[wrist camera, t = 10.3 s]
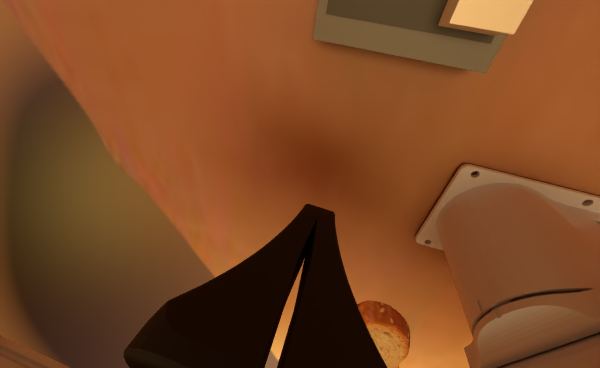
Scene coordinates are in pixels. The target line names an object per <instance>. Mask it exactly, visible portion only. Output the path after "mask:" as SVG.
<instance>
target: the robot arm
mask: <svg viewBox="0 0 600 368" xmlns="http://www.w3.org/2000/svg"><path fill="white" fill-rule="evenodd" d="M474 171H478V172H477V173H476V174H475V175H471V173H472V172H474ZM585 200H588V201H586V202H584V201H585ZM415 240H416V242H417V243H419V244H421V245H425V246H428V247H432V248H435V249H438V250H442V251H444V253H445V256H446V259H447V262H448V265H449V268H450V271H451V274H452V277H453V280H454V283H455V286H456V289H457V292H458V295H459V297H460V300H461V303H462V306H463V309H464V312H465V315H466V318H467V321H468V324H469V327H470V330H471V333H472V336H473V341H472V343H471V344H470V345H468V346H467V347H465V348H464V349H465V353H466V356H467V359H468V363H469V366H470V368H600V196H596V195H592V194H588V193H584V192H580V191H576V190H572V189H568V188H564V187H560V186H556V185H552V184H548V183H544V182H540V181H536V180H532V179H528V178H524V177H520V176H516V175H512V174H508V173H504V172H500V171H496V170H492V169H488V168H484V167H480V166H476V165H472V164H464V165H462V166H460V167H459V169H458V170H457V172H456V173H455V175H454V176H453V178H452V180H451V181H450V183H449V184H448V186H447V187H446V189H445V190H444V192H443V194H442V195H441V197H440V198H439V200H438V201H437V203H436V205H435V206H434V208H433V209H432V211H431V212H430V214H429V216H428V217H427V219H426V220H425V222H424V223H423V225H422V227H421V228H420V230H419V231H418V233H417V234H416V236H415ZM426 240H429V241H426ZM304 258H305V260H304ZM303 261H304V265H303V269H302V274H301V279H300V284H299V289H298V294H297V299H296V303H295V307H294V312H293V315H292V319H291V322H290V325H289V329H288V332H287V336H286V339H285V342H284V346H283V349H282V352H281V356H280V359H279V362H278V366H277V368H388V367H387V366H386V364H385V362H384V360H383V358H382V356H381V354H380V353H379V351H378V349H377V347H376V345H375V343H374V341H373V339H372V337H371V335H370V333H369V330H368V328H367V326H366V324H365V322H364V319H363V317H362V315H361V313H360V311H359V308H358V306H357V304H356V301H355V298H354V296H353V293H352V291H351V288H350V285H349V282H348V279H347V276H346V273H345V270H344V266H343V263H342V259H341V255H340V250H339V246H338V241H337V235H336V228H335V214H334V212H332V211H329V210H326V209H323V208H320V207H316V206H313V205H310V204H306V205H305V206H304V207H303V209H302V210H301V212H300V213H299V214H298V215H297V216H296V217H295V219H294V220H293V221H292V222H291V223H290V224H289V225H288V226H287V227H286V228H285V229H284V230H283V231H282V232H280V233H279V234H278V235H277V236H276V237H275V238H274V239H272V240H271V241H270V242H269V243H268V244H266V245H265V246H264V247H263V248H261V249H260V250H259V251H257V252H256V253H255V254H253V255H252V256H250V257H249V258H247V259H246V260H244V261H243V262H241V263H240V264H238V265H237V266H235V267H233V268H232V269H230V270H228V271H226V272H225V273H223V274H221V275H219V276H217V277H216V278H214V279H212V280H210V281H208V282H207V283H205V284H203V285H201V286H199V287H197V288H194V289H192V290H190V291H188V292H186V293H184V294H182V295H179V296H177V297H175V298H173V299H171V300H169V301H167V302H166V303H165V304H164V305H163V306H162V307H161V308H160V309H159V310H158V311H157V312H156V313H155V314H154V316H153V317H151V318H150V319H149V320H148V322H147V323H146V324H145V325H144V326H143V328H142V329H141V330H140V331H139V333H138V334H137V335H136V337H135V338H134V339H133V340H132V341H131V343H130V344H129V345H128V347H127V348H126V349H125V351H124V358H125V361H126V363H127V364H128V366H129V367H130V368H265V364H266V361H267V358H268V355H269V352H270V349H271V346H272V343H273V340H274V337H275V334H276V331H277V328H278V324H279V321H280V318H281V315H282V312H283V309H284V307H285V304H286V301H287V299H288V296H289V294H290V292H291V289H292V287H293V285H294V282H295V280H296V277H297V275H298V273H299V270H300V268H301V266H302V263H303ZM0 368H70V367H67V366H65V365H63V364H61V363H59V362H57V361H54V360H52V359H50V358H48V357H46V356H44V355H42V354H39V353H37V352H35V351H33V350H31V349H29V348H26V347H24V346H22V345H20V344H18V343H16V342H14V341H11V340H9V339H7V338H5V337H3V336H1V335H0Z"/></svg>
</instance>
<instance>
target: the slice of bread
mask: <svg viewBox="0 0 600 368" xmlns="http://www.w3.org/2000/svg"><path fill="white" fill-rule="evenodd" d="M357 306H358V308H359V311H360V313H361V315H362V317H363V319H364V322H365V324H366V326H367V328H368V330H369V333H370V335H371V337H372V339H373V341H374V343H375V345H376V347H377V349H378V351H379V353H380V354H381V356H382V358H383V360H384V362H385V364H386V366H387V367H388V368H399V364H400V363H401V361H402V360H404V359H405V358H406V357H407V355H408V352H409V347H410V331H409V327H408V324H407V322H406V321H405V319H404V318H403V317H402V316H401V314H400V313H399V312H397V311H396V310H395V309H393V308H392V307H391V306H389V305H387V304H384V303H381V302H376V301H365V302H362V303H360V304H359V305H357Z"/></svg>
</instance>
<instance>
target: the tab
mask: <svg viewBox="0 0 600 368" xmlns="http://www.w3.org/2000/svg"><path fill="white" fill-rule="evenodd" d="M532 2H533V0H448V2H447V4H446V6H445V9H444V11H443V14H442V16H441V19H440V21H439V24H438V26H442V27H448V28H453V29H459V30H465V31H470V32H476V33H482V34H487V35H510V34H514V33H515V31H516V30H517V28H518V26H519V24H520V23H521V21H522V19H523V18H524V16H525V14H526V12H527V11H528V9H529V7H530V5H531V4H532Z"/></svg>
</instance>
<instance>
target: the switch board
mask: <svg viewBox="0 0 600 368" xmlns="http://www.w3.org/2000/svg"><path fill="white" fill-rule="evenodd" d="M447 2H448V0H319V2H318V8H317V14H316V21H315V27H314V33H313V39H315V40H320V41H325V42H330V43H335V44H340V45H345V46H350V47H355V48H360V49H365V50H370V51H375V52H380V53H385V54H391V55H396V56H401V57H406V58H411V59H416V60H421V61H426V62H431V63H436V64H441V65H446V66H451V67H456V68H461V69H466V70H471V71H476V72H481V73H486V72H487V70H488V68H489V67H490V65H491V63H492V61H493V59H494V58H495V56H496V54H497V52H498V51H499V49H500V47H501V45H502V43H503V42H504V40H505V38H506V36H507V35H487V34H482V33H476V32H470V31H465V30H459V29H453V28H448V27H442V26H438V24H439V21H440V19H441V16H442V14H443V11H444V9H445V6H446V4H447Z"/></svg>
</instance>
